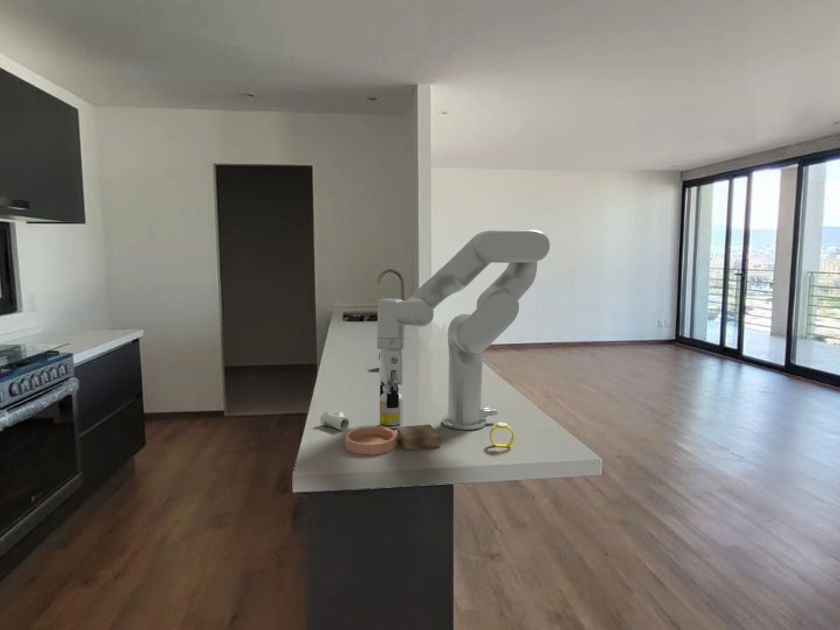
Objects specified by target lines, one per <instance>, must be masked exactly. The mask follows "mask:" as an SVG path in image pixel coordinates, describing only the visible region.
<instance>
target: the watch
mask: <svg viewBox="0 0 840 630" xmlns="http://www.w3.org/2000/svg"><path fill="white" fill-rule="evenodd" d="M496 429H507V430H509V431H510V433H511V438H510V440H509V442H507V443H505V444H504V443H496V442H495V441H494V440H493V439H492V434H493V433H494V431H495V430H496ZM514 436H515V435H514V431H513V430H512V428H511V427H510V426H509V425H508V423H507V422H501V421H500V422H496V424H495V425H494V426H492V428H491V429H490V431H489V440H490V442H491V444H492V445H493V446H494V447H496V448H508V447H510V446H511V445H512V444H513V441H514V439H515V438H514Z"/></svg>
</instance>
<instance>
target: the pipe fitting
mask: <svg viewBox="0 0 840 630" xmlns="http://www.w3.org/2000/svg"><path fill="white" fill-rule="evenodd" d="M319 421H320V424H321V425H323V426H326V427H331V428H334V429H337V430H339V431H342V432H344V431H346V430H347V429H348V428H349V425H350V420H349V419H348V418H346V416H345V413H343V411H337V412H335V413H334V414H332V413H330V412H327V411H325V412H324V413H322V415H320V420H319Z"/></svg>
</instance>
